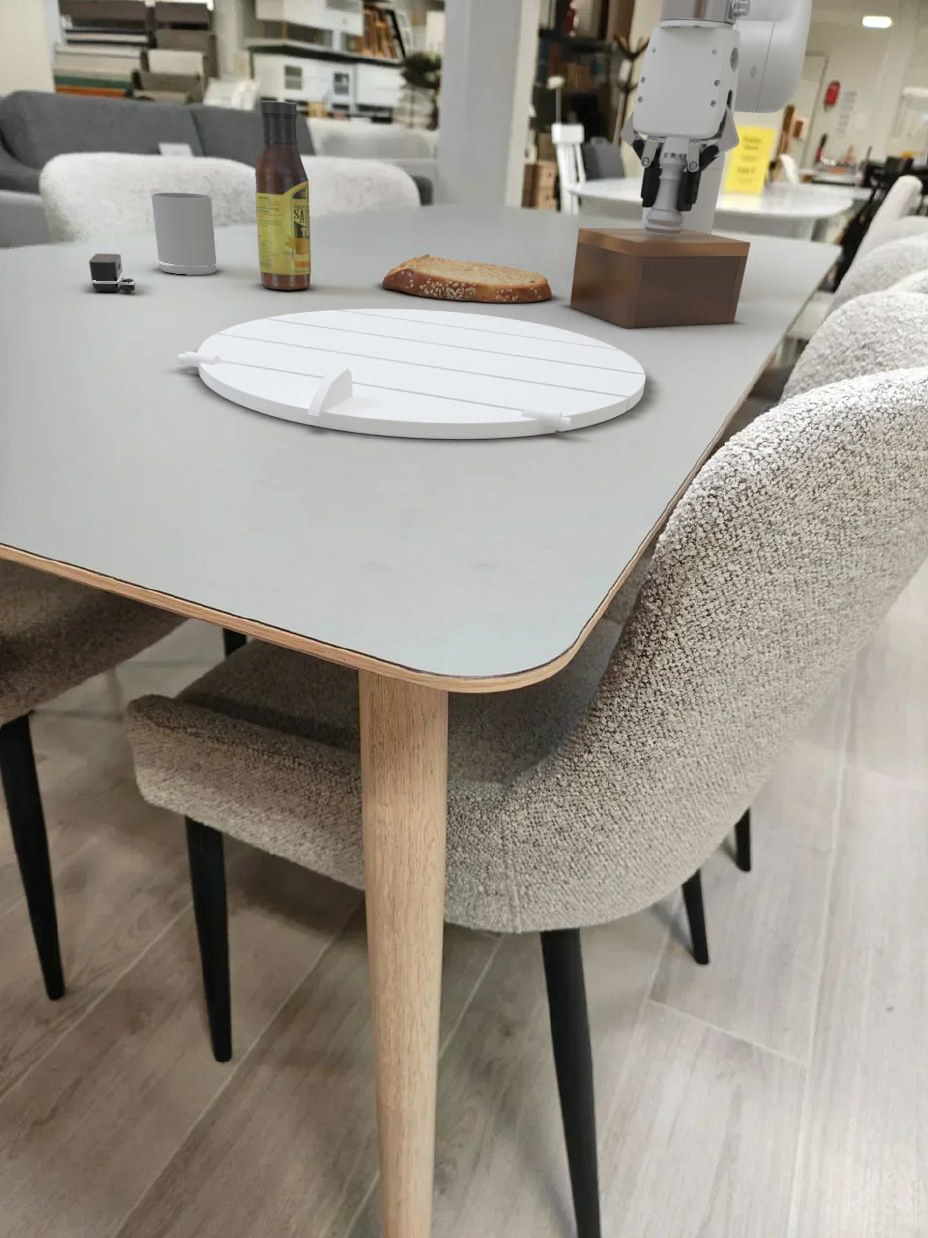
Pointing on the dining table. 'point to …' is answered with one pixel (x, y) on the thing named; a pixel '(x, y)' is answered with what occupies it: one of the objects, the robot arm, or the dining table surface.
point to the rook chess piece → (668, 196)
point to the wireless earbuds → (108, 273)
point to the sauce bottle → (282, 202)
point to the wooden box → (657, 277)
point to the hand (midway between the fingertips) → (666, 206)
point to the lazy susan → (419, 373)
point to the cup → (184, 232)
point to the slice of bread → (466, 281)
